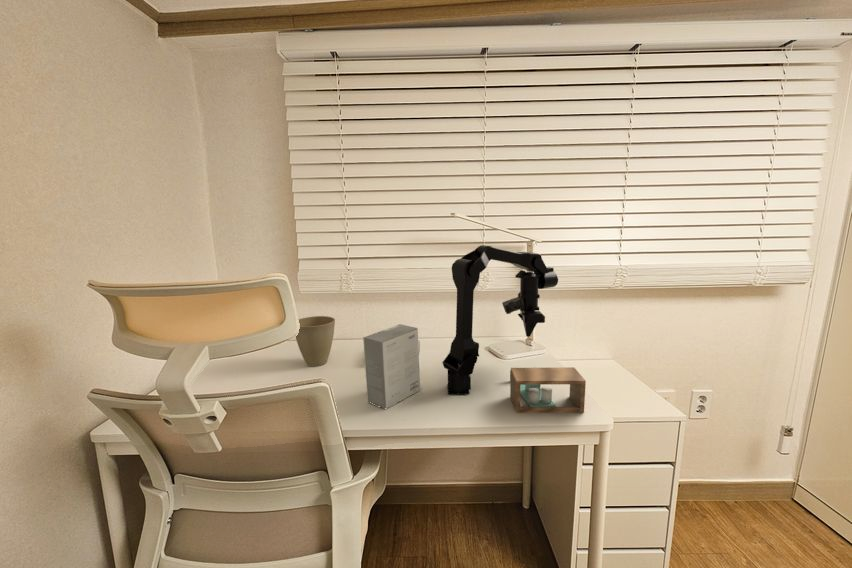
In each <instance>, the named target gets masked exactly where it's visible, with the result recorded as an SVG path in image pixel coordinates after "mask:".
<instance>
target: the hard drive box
mask: <svg viewBox="0 0 852 568" xmlns="http://www.w3.org/2000/svg"><path fill="white" fill-rule="evenodd" d="M418 330H419V328H417V327H415V326H410V325H406V324H397V325H393V326H390V327H388V328H386V329H383V330H380V331H377V332H374V333H372V334H369V335H366V336H363V337H362V339H363V354H364V355H363V356H364V367H365V369H364V370H365V381H366V382H365V383H366V396H367V397H366V398H367V403H368V402H371V403H373V404H375V405H377V406H380V407H382V408H384V409H383V410H386V409H385V408H387V409H389V408H390V406H391V407H393V406H395V405H396V404H398V403H399V401H400V402H401V401H403V400H405V399H407V398H409V397H410V396H412V394H413V395H415V394H416V393H417V392H419V391H421V378H420V377H421V375H420V373H421V371H420V353H419V348H418V341H419V331H418ZM397 402H398V403H397ZM373 404H372V405H373ZM394 404H395V405H394ZM375 405H374V406H375ZM392 405H393V406H392ZM377 406H376V407H377ZM380 407H379V408H380ZM388 407H389V408H388ZM382 408H381V409H382Z"/></svg>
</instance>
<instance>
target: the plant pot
mask: <svg viewBox="0 0 852 568" xmlns="http://www.w3.org/2000/svg"><path fill="white" fill-rule="evenodd" d="M299 323H300V329H299V333H298V335H297V336H296V337H295V339H296V343H297V346H298V349H299V351H300V354H301V356H302V358H303V360H304V363H305V364H306V366H308V367H320V365H321V366H324V365H325V364H327V362H328V360H329V356H330V353H331V349H332V346H333V341H334V334H335V326H336V325H335V324H336V318H334V317H331V316H325V315H315V316H308V317H301V318H299ZM323 364H324V365H323Z"/></svg>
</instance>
